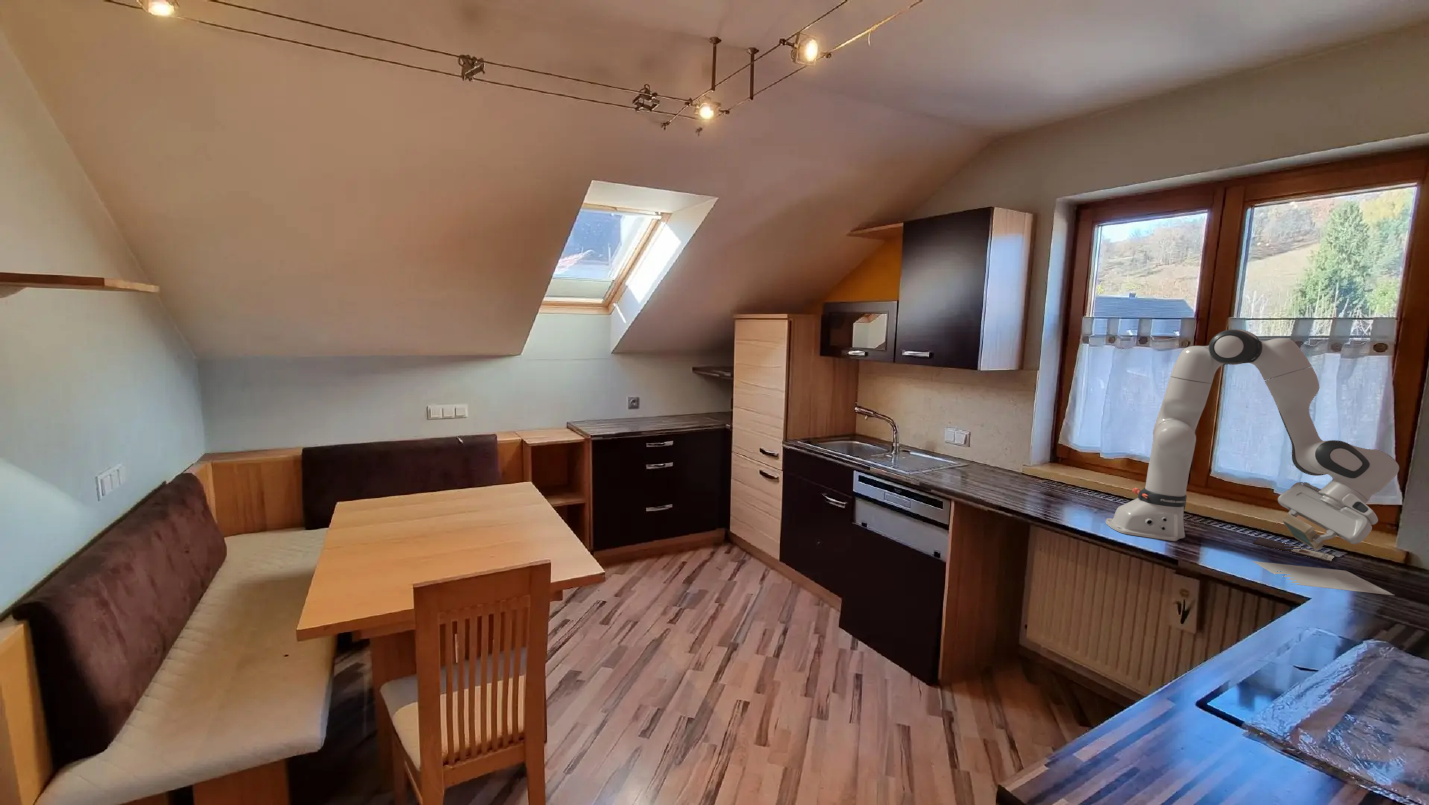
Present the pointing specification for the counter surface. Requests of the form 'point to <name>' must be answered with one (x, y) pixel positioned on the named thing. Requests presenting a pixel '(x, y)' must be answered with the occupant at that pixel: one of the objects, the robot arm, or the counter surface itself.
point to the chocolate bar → (1304, 552)
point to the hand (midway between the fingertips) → (1300, 533)
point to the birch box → (1302, 531)
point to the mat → (1323, 578)
